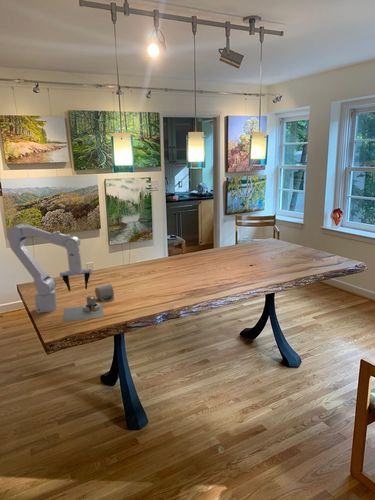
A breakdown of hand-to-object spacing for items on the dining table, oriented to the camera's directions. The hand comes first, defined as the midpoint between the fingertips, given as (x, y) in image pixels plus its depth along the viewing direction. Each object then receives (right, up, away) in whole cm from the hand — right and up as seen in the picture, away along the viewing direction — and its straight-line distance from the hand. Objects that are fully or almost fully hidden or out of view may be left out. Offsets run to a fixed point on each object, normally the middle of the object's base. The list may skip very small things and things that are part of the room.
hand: (77, 289), depth 181 cm
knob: (+6, -9, +2) cm, 11 cm away
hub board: (+3, -11, -3) cm, 12 cm away
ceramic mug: (+10, -7, +15) cm, 20 cm away
